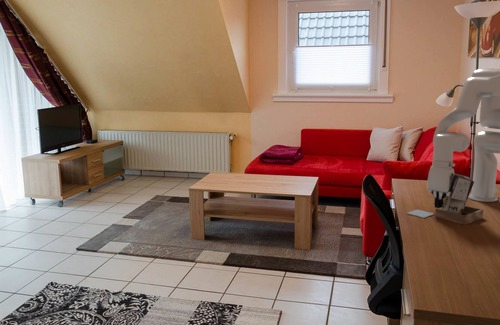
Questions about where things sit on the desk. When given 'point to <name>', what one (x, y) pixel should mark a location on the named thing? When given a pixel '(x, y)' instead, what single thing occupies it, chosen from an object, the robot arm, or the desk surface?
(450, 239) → the desk surface
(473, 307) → the desk surface
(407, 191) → the desk surface
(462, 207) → the coffee box
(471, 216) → the bay walnut
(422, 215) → the mat grey
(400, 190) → the desk surface
